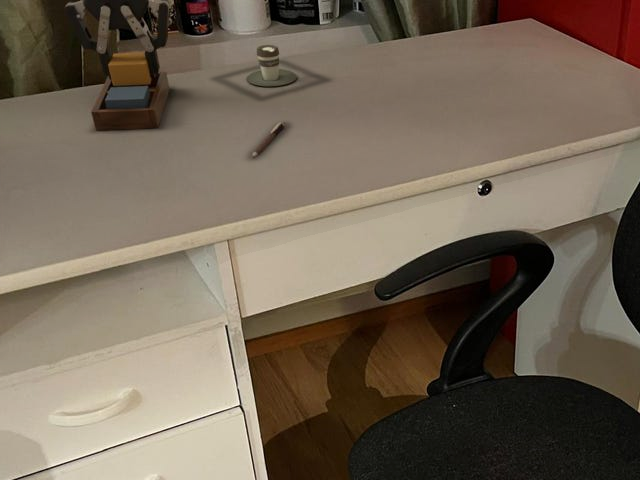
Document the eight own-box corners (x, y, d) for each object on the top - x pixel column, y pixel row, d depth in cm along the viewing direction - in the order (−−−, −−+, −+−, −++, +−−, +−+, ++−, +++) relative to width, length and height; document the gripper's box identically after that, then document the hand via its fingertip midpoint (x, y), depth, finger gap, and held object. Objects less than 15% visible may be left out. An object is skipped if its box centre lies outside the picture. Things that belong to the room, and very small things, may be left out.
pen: (281, 125, 120) (280, 119, 119) (286, 126, 120) (285, 119, 119) (250, 159, 111) (249, 151, 111) (256, 159, 111) (254, 152, 110)
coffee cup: (280, 61, 141) (276, 30, 138) (325, 80, 134) (323, 48, 131) (216, 78, 134) (210, 45, 131) (260, 99, 127) (256, 65, 124)
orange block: (113, 86, 122) (108, 65, 120) (118, 74, 126) (113, 53, 124) (150, 84, 123) (145, 63, 121) (154, 72, 127) (149, 52, 125)
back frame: (95, 130, 117) (91, 112, 115) (113, 90, 129) (109, 73, 127) (158, 127, 118) (154, 109, 116) (169, 88, 130) (166, 71, 128)
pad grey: (110, 121, 118) (104, 100, 116) (115, 108, 122) (110, 87, 120) (148, 120, 118) (143, 98, 117) (152, 106, 122) (148, 85, 121)
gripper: (164, -58, 118) (187, 66, 128) (53, -57, 116) (85, 70, 126) (158, -46, 112) (182, 84, 122) (41, -44, 110) (75, 88, 120)
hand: (133, 76), depth 124 cm, fingers closed on orange block, 5 cm apart
